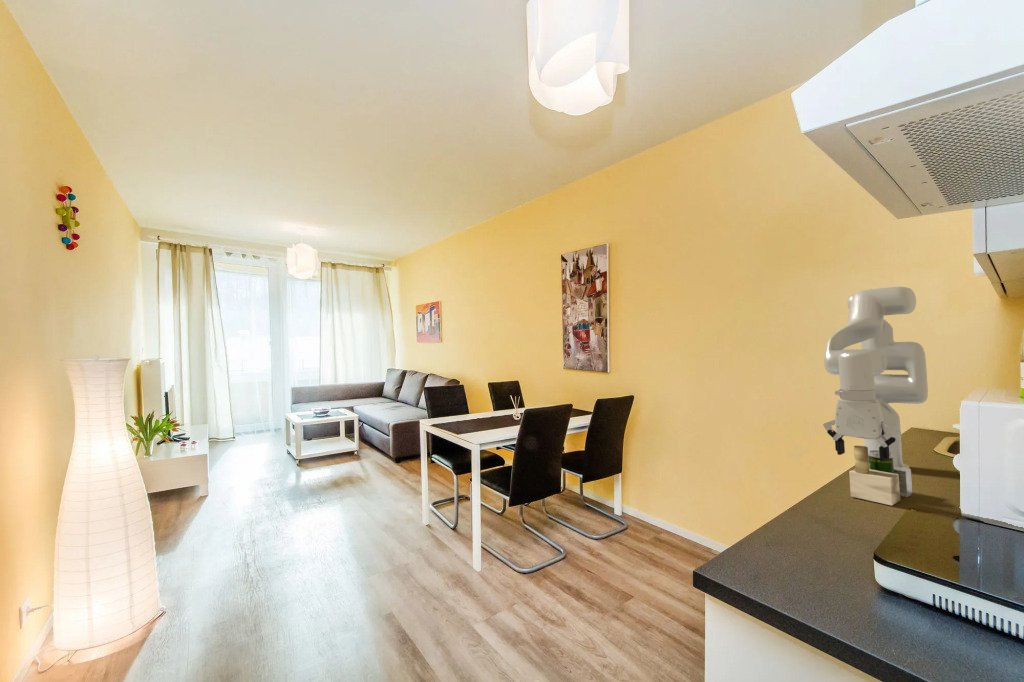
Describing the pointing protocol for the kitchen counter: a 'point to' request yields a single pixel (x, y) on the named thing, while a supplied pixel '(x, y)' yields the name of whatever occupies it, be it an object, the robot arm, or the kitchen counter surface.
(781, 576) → the kitchen counter surface
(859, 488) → the wooden block with peg
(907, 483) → the grey box
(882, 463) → the beer can
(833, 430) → the robot arm
